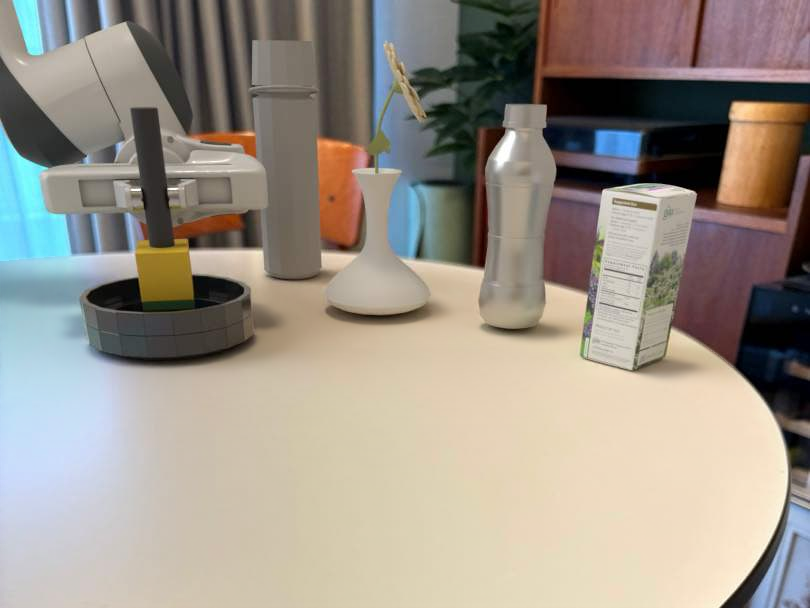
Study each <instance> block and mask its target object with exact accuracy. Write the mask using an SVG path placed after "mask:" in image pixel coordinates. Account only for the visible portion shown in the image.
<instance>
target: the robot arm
mask: <svg viewBox="0 0 810 608" xmlns="http://www.w3.org/2000/svg"><path fill="white" fill-rule="evenodd" d="M133 107H156V108H158V115H159V123H160V131H161V139H162V147H163V155H164V163H165V171H166V179H167V192H168V197H169V208H170V211H171V219H172V226H173V228H176V227H179V226H181V225H184V224H185V223H187V224H188V223H193V222H196V221H199V220H203V219H206V218H214V217H221V216H231V215H237V214H245V213H248V212H249V211H260V210H262V209H266V208H267V206H268V190H267V178H266V171H265V168H264V166H263V165H262V164H261V163H260V162H259V161H258V160H257V157H254V156H252V155H251V154H247V153H246V152H245V147H244V145H241V144H239V143H231V142H222V141H221V142H220V141H209V140H203V139H202V140H200V139H196V138H192V137H189V134H190V132H191V130H192V124H193V119H194V112H193V110H192V106H191V103H190V100H189V97H188V94H187V92H186V89H185V85H184V83H183V81H182V79H181V77H180V74H179V72H178V70H177V68H176V66H175V64H174V62H173V61H172V58H171V57H170V55H169V53H168V52H167V50H166V49H165V47H164V45H163V44H162V42H161V41H160V40H159V38H158V37H156V35H154V34H153V33H152V32H150V31H149V30H147V29H146V28H144V27H143V26H141V25H139V24H137V23H135V22H133V21H129V20H126V21H124V22H119V23H118V24H114V25H112V26H109V27H107V28H103V29H101V30H98V31H96V32H93V33H91V34H88V35H85V36H84V37H83V38H81V39H77V40H74V41H73V42H70V43H68V44H65V45H62V46H59V47H57V48H54V49H51V50H49V51H45V52H44V53H41V54H31V53H30V52H29V50H28V47H27V44H26V40H25V37H24V34H23V30H22V27H21V23H20V21H19V17H18V14H17V10H16V7H15V3H14V1H13V0H0V126H1V128H2V130H3V133H4V135H5V137H6V138H7V140H8V141H9V143H10V144H11V146H12V147H13V148H14V150H15V152H16V153H17V154H18V155H19V156H20V157H21V158H22V159H25V160H27V161H28V162H30V163H33V164H35V165H38V166H39V167H43V168H46V169H43V170H42V171H41V172H39V176H38V177H39V186H40V190H41V191H40V192H41V195H42V200H43V206H44V209H45V210H46V212H48V213H49V214H51V215H52V214H53V215H96V214H97V215H98V214H129V215H131V216H132V218H134V219H135V220H137V221H138V222H140V223H142V224H144V225H145V226H147V224H146V217H145V208H144V201H143V194H142V188H141V181H140V174H139V167H138V160H137V153H136V146H135V139H134V132H133V124H132V117H131V110H130V108H133ZM122 142H123V144H122V146H121V148H120V149H119V150H118V152H117V154H116V156H115V159H114V160H113V161H114V162H110V163H109V162H108V163H107V162H106V163H105V162H104V163H102V162H101V163H100V162H99V163H78V162H80V161H82V160H83V159H85V158H87V157H88V156H89V155H91V154H93V153H96V152H99V151H101V150H103V149H106V148H109V147H111V146H114V145H117V144H120V143H122Z"/></svg>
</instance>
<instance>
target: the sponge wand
mask: <svg viewBox="0 0 810 608" xmlns="http://www.w3.org/2000/svg"><path fill="white" fill-rule="evenodd" d="M130 110H131V117H132V124H133V132H134V139H135V146H136V153H137V160H138V167H139V174H140V181H141V188H142V194H143V201H144V208H145V217H146V224H147V225H146V224H145V225H146V231H147V239H140V240H139V239H138V240H137V244H136V248H135V252H134V258H135V265H136V271H137V276H138V278H139V285H140V292H141V298H142V305H143V311H154V310H175V309H194V308H195V301H194V287H193V279H192V274H193V272H192V262H191V253H190V247H189V239H188V238H175V236H174V235H175V234H174V227H173V226H172V219H171V211H170V208H169V197H168V192H167V179H166V171H165V163H164V155H163V147H162V139H161V131H160V123H159V115H158V108H156V107H133V108H130Z"/></svg>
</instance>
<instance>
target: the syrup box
mask: <svg viewBox="0 0 810 608" xmlns="http://www.w3.org/2000/svg"><path fill="white" fill-rule="evenodd" d="M697 196H698V193H696V191H694V190H691V189H689V188H688V189H687V188H684V187H680V186H676V185H671V184H663V183H636V184H629V185H622V186H615V187H609V188H604V189H603V190H602V191H601V196H600V197H601V198H600V205H599V210H598V211H599V213H598V219H597V225H596V226H597V227H596V234H595V242H594V247H593V249H594V250H593V254H592V263H591V271H590V276H589V277H590V278H589V284H588V291H587V299H586V300H587V301H586V307H585V313H584V320H583V327H582V335H581V342H580V349H579V356H580V357H581V358H583V359H586V360H590V361H594V362H597V363H601V364H605V365H609V366H613V367H617V368H621V369H624V370H629V371H635V370H637V369H640V368H643V367H644V366H645V367H646V366H648V365H651V364H652V363H655V362H657V361H658V362H659V361H660V360H662V359H665V358H666V356H667V352H668V346H669V342H670V338H671V337H670V336H671V332H672V327H673V322H674V321H673V320H674V316H675V310H676V306H677V301H678V296H679V291H680V290H679V289H680V285H681V280H682V276H683V275H682V274H683V269H684V264H685V259H686V253H687V247H688V244H689V238H690V233H691V228H692V222H693V218H694V217H693V216H694V212H695V207H696V206H695V205H696V201H697Z"/></svg>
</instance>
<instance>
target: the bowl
mask: <svg viewBox="0 0 810 608" xmlns="http://www.w3.org/2000/svg"><path fill="white" fill-rule="evenodd" d="M192 279H193V287H194V301H195V308H194V309H175V310H154V311H143V305H142V298H141V292H140V285H139V278H138V275H137V276H132V277H126V278H125V277H124V278H120V279H114V280H110V281H106V282H102V283H100V284H96V285H94V286H92V287H90V288H87V289H85V290H84V291H82V293H81V294H80V296H79V297H78V300H79V305H80V311H81V316H82V321H83V327H84V333H85V336H86V337H85V338H86V340H87V343H88V344H89V346H90V347H92V348H95V349H96V350H98V351H100V352H104V353H109V354H113V355H116V356H120V357H124V358H129V359H134V360H142V361H143V360H144V361H174V360H175V361H177V360H186V359H194V358H199V357H205V356H208V355H214V354H216V353H219V352H223V351H225V350H227V349H229V348H232V347H234V346H237V345H238V344H241V343H243V342H246V341H247V340H248V339H250V338H251V337H252V336H253V335H254V329H255V326H254V312H253V301H252V289H251V286H249V285H247V283H245V282H243V281H241V280H237V279H234V278H231V277H226V276H219V275H212V274H198V273H197V274H196V273H192Z"/></svg>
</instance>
